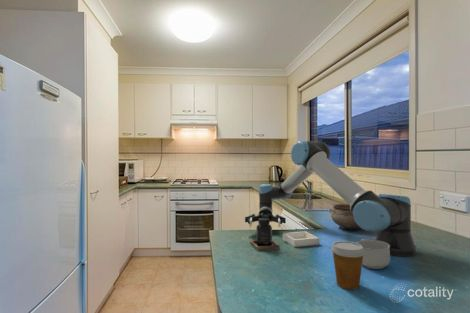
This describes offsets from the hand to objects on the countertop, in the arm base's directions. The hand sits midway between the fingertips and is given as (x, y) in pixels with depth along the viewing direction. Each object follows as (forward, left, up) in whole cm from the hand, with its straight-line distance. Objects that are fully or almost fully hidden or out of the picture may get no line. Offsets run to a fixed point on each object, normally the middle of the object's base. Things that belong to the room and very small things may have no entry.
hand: (264, 223), depth 132 cm
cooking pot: (+7, -52, -8) cm, 53 cm away
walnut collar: (-9, +4, -8) cm, 12 cm away
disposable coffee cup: (-51, -7, -8) cm, 52 cm away
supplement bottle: (-9, +4, -8) cm, 12 cm away
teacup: (-39, -26, -8) cm, 48 cm away
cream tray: (-8, -14, -7) cm, 18 cm away
